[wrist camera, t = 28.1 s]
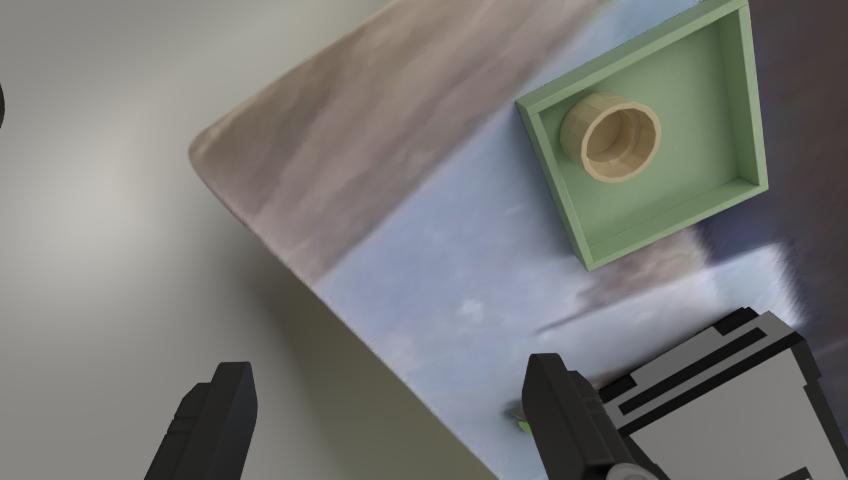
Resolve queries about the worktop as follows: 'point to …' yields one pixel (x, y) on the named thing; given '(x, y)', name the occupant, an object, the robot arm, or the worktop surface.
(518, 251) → the worktop surface
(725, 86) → the tray
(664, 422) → the game console
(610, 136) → the beige cup
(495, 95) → the worktop surface
